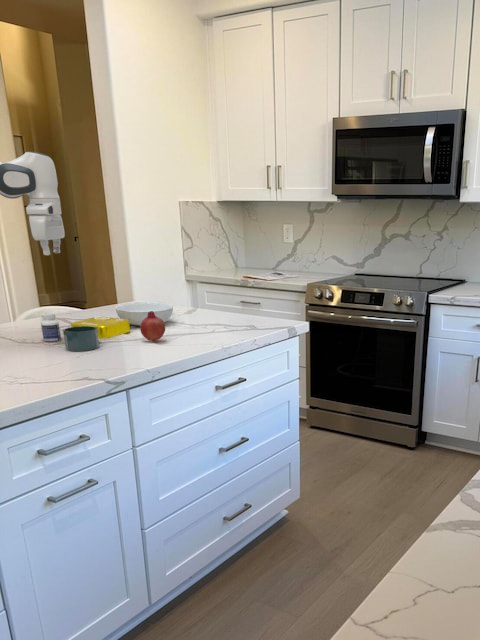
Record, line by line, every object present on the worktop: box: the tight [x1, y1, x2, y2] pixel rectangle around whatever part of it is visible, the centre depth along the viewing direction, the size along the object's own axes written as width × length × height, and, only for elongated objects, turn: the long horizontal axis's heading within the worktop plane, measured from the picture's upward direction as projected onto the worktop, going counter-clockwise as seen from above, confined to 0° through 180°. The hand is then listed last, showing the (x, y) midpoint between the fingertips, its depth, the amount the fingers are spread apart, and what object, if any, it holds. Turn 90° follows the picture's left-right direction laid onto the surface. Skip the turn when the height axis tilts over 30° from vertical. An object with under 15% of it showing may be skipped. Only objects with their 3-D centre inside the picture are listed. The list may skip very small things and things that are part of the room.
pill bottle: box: [40, 312, 62, 346], centre depth 197 cm, size 5×5×10 cm
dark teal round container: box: [62, 326, 100, 352], centre depth 192 cm, size 10×10×6 cm
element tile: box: [70, 315, 131, 340], centre depth 213 cm, size 15×15×5 cm
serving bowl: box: [115, 301, 174, 327], centre depth 231 cm, size 21×21×7 cm
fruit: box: [139, 311, 166, 342], centre depth 202 cm, size 8×8×10 cm
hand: (52, 254), depth 196 cm, fingers open, 8 cm apart
